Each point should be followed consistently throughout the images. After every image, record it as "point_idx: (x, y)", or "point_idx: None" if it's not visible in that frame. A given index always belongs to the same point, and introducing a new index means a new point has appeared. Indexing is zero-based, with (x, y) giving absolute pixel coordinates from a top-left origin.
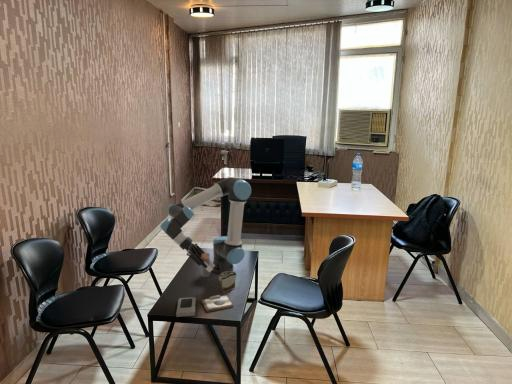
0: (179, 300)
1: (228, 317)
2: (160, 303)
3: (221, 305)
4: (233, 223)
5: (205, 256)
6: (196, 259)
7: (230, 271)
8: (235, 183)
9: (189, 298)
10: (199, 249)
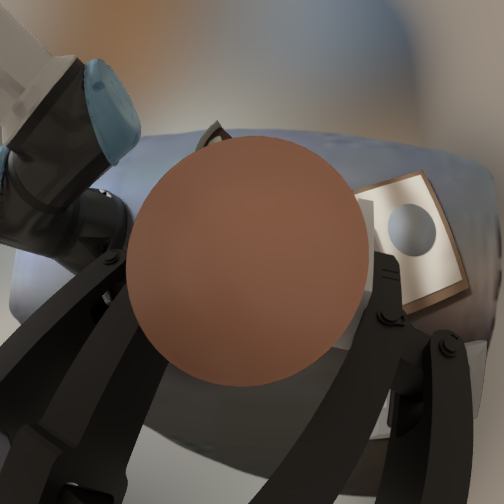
0: None
1: (486, 197)
2: (349, 493)
3: (435, 219)
4: None
5: (365, 239)
6: (454, 465)
7: (198, 148)
8: None
9: (390, 390)
10: (21, 376)
